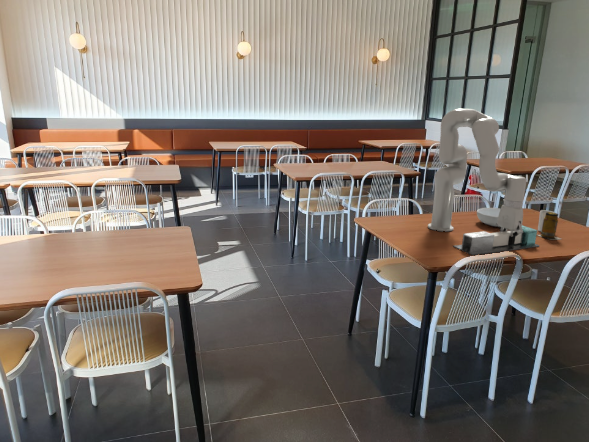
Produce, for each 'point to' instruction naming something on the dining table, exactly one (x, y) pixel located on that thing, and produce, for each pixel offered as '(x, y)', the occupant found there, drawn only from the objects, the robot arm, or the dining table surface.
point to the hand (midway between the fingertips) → (506, 242)
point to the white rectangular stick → (505, 238)
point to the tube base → (484, 242)
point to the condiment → (549, 226)
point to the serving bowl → (488, 215)
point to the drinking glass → (542, 218)
